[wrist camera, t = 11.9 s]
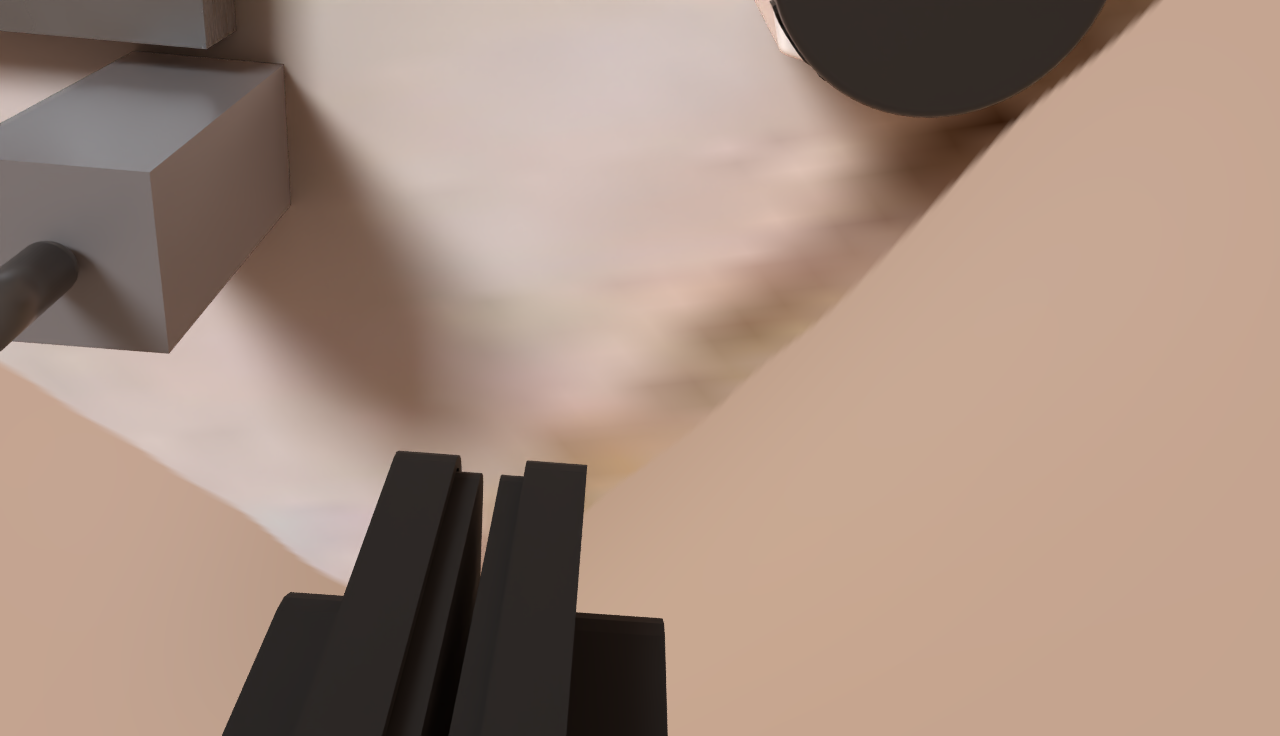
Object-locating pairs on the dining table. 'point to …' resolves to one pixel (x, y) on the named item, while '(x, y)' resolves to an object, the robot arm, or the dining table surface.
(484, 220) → the dining table surface
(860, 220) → the dining table surface
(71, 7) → the breaker panel
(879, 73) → the jar
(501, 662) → the robot arm
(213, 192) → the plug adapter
